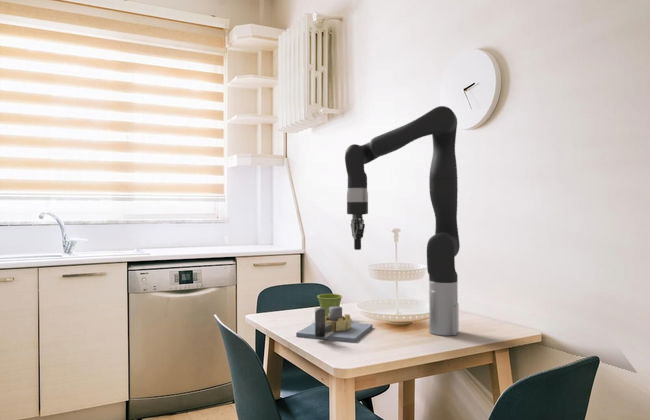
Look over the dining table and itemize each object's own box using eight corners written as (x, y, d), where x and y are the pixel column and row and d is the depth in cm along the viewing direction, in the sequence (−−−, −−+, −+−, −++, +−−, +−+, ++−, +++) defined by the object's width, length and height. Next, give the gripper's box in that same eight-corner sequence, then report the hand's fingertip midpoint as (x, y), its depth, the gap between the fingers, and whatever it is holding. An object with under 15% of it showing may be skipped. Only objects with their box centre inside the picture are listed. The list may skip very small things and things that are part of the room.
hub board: (372, 327, 170) (372, 304, 170) (352, 344, 149) (352, 317, 149) (319, 323, 177) (319, 300, 177) (293, 337, 157) (293, 312, 157)
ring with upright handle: (328, 323, 171) (328, 298, 171) (355, 325, 167) (354, 300, 167) (303, 335, 154) (303, 308, 154) (332, 338, 150) (332, 311, 150)
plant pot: (342, 321, 180) (342, 298, 180) (317, 321, 180) (316, 298, 180) (342, 316, 189) (342, 293, 189) (317, 316, 189) (317, 293, 189)
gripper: (372, 200, 168) (372, 251, 168) (363, 201, 181) (363, 248, 181) (350, 200, 167) (351, 251, 167) (343, 201, 180) (343, 248, 180)
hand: (357, 249), depth 174 cm, fingers closed
